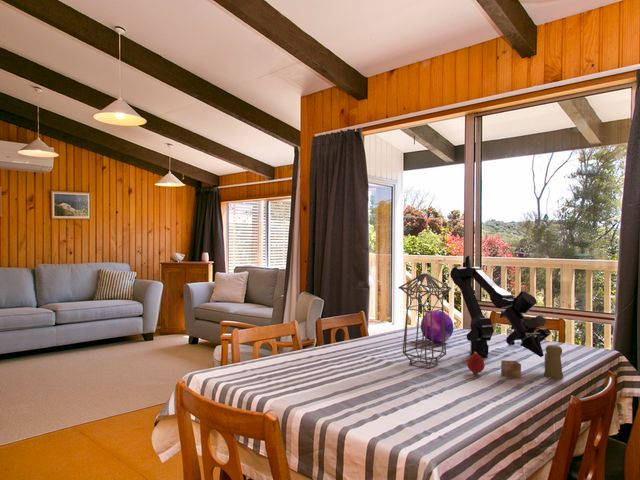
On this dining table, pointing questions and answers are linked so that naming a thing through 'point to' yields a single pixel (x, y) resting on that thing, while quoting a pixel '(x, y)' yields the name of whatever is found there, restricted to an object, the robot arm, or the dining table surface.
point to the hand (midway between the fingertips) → (542, 356)
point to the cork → (553, 362)
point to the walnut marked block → (511, 369)
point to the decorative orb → (438, 326)
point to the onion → (475, 363)
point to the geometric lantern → (425, 317)
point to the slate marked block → (545, 357)
